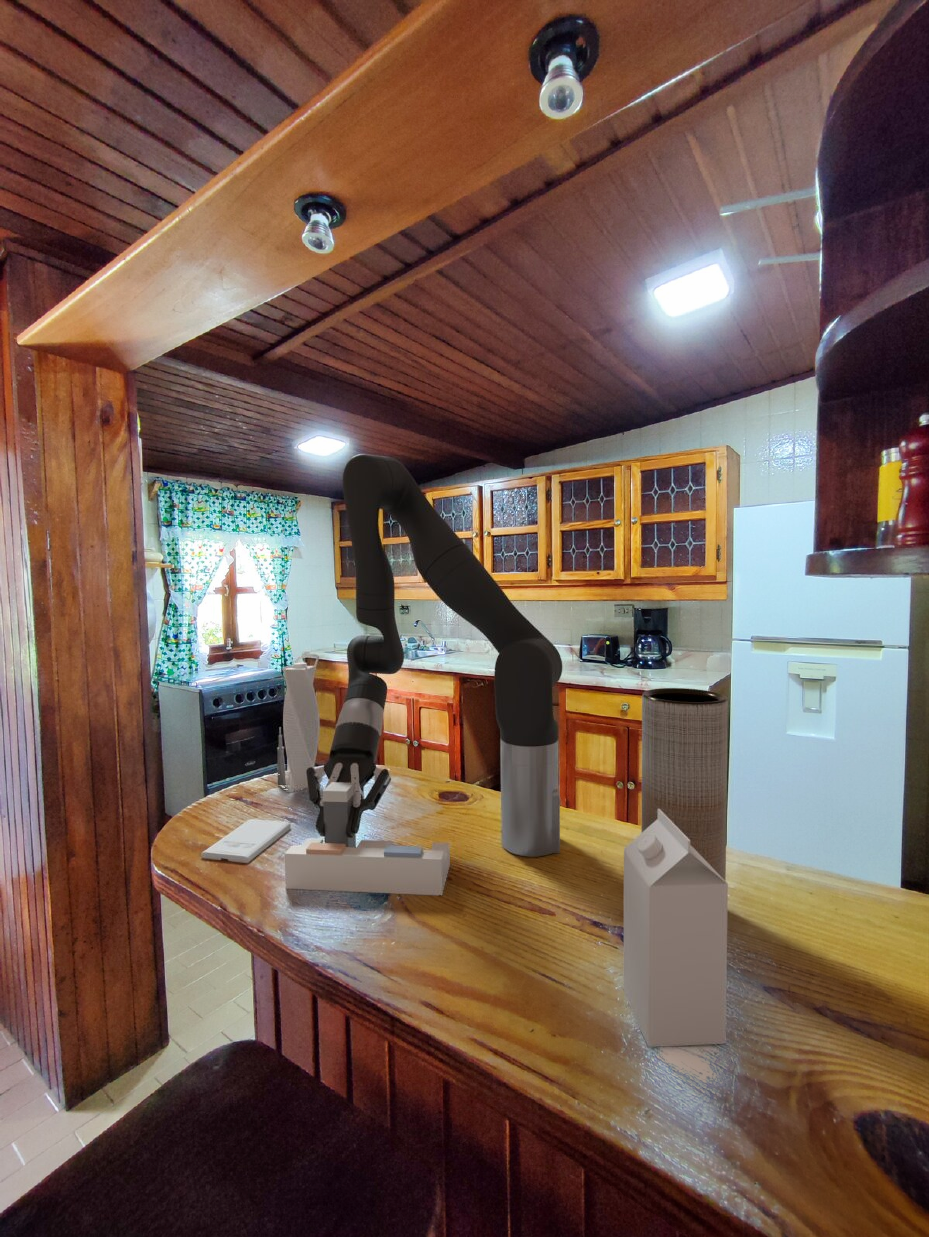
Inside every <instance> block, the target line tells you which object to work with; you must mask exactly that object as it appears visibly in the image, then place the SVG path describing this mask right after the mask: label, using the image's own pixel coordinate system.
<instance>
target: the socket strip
mask: <svg viewBox="0 0 929 1237" xmlns="http://www.w3.org/2000/svg"><path fill="white" fill-rule="evenodd" d="M450 847H451V846H450V843H449V842H432V845H431V848H430V849H423V846H414V845H412V846H411V845H395V844H394V840H373V839H372V840H369V839H360V842H358V844H357V845H356V848H355V847H346V844H335V843H325V842H324V838H317V837H316V838H315V837H314V838H313V837H311V838H310V837H309V838H308V837H307V838H305V839H304V841H303V842H302V844H300V845H296V844H295V845H290V847H289V848H287V850H286V851H285V852H284V874H285V875H284V876H285V878H284V881H285V889H287V890H289V889H290V890H307V891H308V890H311V891H312V890H313V891H327V892H329V891H330V892H352V893H353V892H354V893H371V894H372V893H374V894H375V893H376V894H394V895H395V894H397V895H399V894H400V895H416V896H417V895H418V896H419V895H420V896H421V895H422V896H439V895H441V896H443V895H444V891H443V890H445V887H446V883H445V882H447V879H446V878H448V875H449V871H450V868H451V864H450V863H451V858H450V857H451V856H450V854H451V853H450V852H451V850H450V849H451V848H450ZM449 867H450V868H449ZM448 870H449V871H448ZM447 874H448V875H447ZM444 886H445V887H444ZM441 896H440V897H441Z"/></svg>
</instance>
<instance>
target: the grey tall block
mask: <svg viewBox="0 0 929 1237" xmlns="http://www.w3.org/2000/svg"><path fill="white" fill-rule="evenodd" d="M325 787H326V786H325ZM353 788H354V783H343V782H331V783H330V784H329V785H328V786H327V787H326V788H324V789H323V790H322V797H323V808H324V828H325V836H324V838H323V842H324V843H335V844H346V847H355V848H356V847H357V836H356V834H354V837H353V838H349V837H347V835H346V826H347V823H348V818H349V814H350V809H351V808H352V807H353V802H352V798H353Z"/></svg>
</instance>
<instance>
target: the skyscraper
mask: <svg viewBox="0 0 929 1237" xmlns="http://www.w3.org/2000/svg"><path fill="white" fill-rule="evenodd" d="M311 657H312V658H315V662H314V665H308V664H307V662H299V661H301V660H302V659H305V658H311ZM319 659H320V656H319V655H318V654H304V655H301V656H300V657H298V658H297V659H296V660H295V661H294V662H293V663H292V664H291V665H287V666H283V668H282V673H283V676H284V681H285V684H286V691H285V696H284V703H283V712H282V713H283V714H282V715H283V716H282V717H283V719H282V721H283V722H282V726H283V729H282V727H281V726H280V727H278V728H279V729H278V734H279V735H278V736H277V738H278V747H277V748H276V751H277V768H276V770H277V783H278V785H290V787H288V786H287V787H285V788H281V790H283V789H288V790H284V791H285V792H286V791H287V792H292V793H295V791H296V792H299V791H298V790H300V791H302V790H301V789H304V790H308V782H307V773H306V770H307V769H308V768H309V767H312V768H313V769H315V764H316V759H317V753H318V748H319V739H320V726H321V723H320V709H319V704H318V699H317V695H316V692H315V687H314V679H315V675H316V670H317V665H318V663H319ZM282 730H283V734H282ZM283 739H284V746H283ZM285 752H286V757H287V762H288V768H289V774H288V778H286V765H285ZM278 774H280V775H278ZM286 779H287V780H286ZM286 782H287V783H286ZM319 785H320V786H321V783H319ZM287 792H286V793H287Z"/></svg>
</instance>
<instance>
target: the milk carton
mask: <svg viewBox="0 0 929 1237" xmlns="http://www.w3.org/2000/svg"><path fill="white" fill-rule="evenodd" d="M623 850H624V851H623V992H624V995H625V997H626V999H627V1002H628V1004H629V1006H630V1008H631V1011H632V1013H633V1015H634V1018H635V1020H636V1022H637V1025H638V1027H639V1029H640V1031H641V1034H642V1036H643V1038H644V1041H645V1043H646V1045H647V1046H648V1047H649V1048H650V1047H651V1048H652V1047H654V1048H655V1047H677V1046H679V1047H680V1046H697V1045H698V1046H699V1045H703V1046H704V1045H723V1044H726V1041H727V976H728V975H727V968H728V967H727V965H728V964H727V962H728V961H727V960H728V897H729V896H728V888H729V887H728V885H729V883H728V882H727V881H725V880H724V879H723V878H722V877H721V876H720V875H719V874H718V873H717V872H716V871H715V870H714V869H713V868H712V867H711V866H710V865H709V863H708V862H707V861H706V860H705V859H704V858H703V857H702V856H701V855H700V854H699V853H698V852H697V851H696V850H695V849H694V848H693V847H692V846H691V845H690V840H689V839H688V838H687V837H686V836H685V834H684V833H683V832H682V831H681V830H680V829H679V828H678V827H677V826H676V825H675V824H674V823H673V822H672V821H671V820H670V819H669V818H668V817H667V816H666V815H665V814H664V813H663V812H662V811H661V810H660V809H658V819H657V820H656V821H655V822H653V823H652V824H651V825H650V826H649V827H648V828H647V829H646V830H644V831H643V832H642V831H641V833H640V834H638V836H636V837H635V838H634V839H633V840H631V842H629V843H628V844H627V845H626V846H625V847H624V848H623Z"/></svg>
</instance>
